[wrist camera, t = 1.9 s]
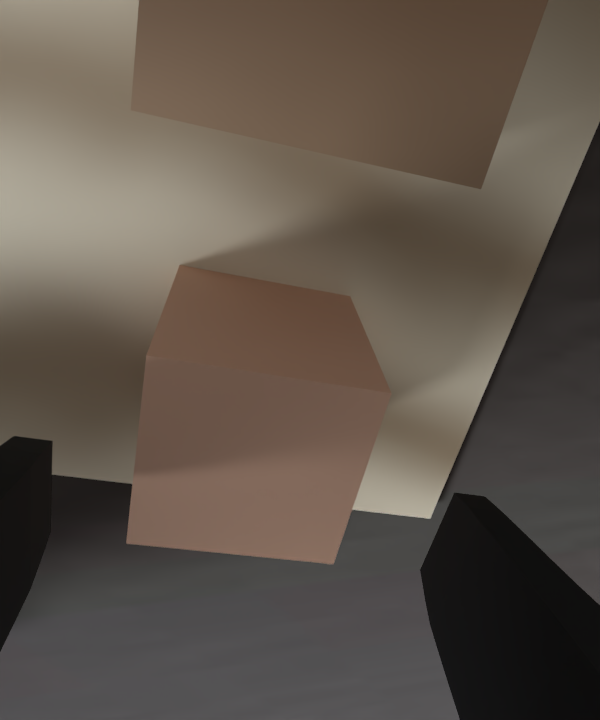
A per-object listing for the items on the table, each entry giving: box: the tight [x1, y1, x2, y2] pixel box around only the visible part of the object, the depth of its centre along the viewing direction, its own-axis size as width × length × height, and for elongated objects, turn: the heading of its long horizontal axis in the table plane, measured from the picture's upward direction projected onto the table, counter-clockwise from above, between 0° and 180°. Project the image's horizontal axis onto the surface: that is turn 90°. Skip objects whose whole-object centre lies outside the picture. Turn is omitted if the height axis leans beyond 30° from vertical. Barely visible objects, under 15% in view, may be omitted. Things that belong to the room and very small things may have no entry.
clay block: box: [126, 265, 392, 564], centre depth 13 cm, size 4×4×5 cm
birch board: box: [0, 0, 600, 519], centre depth 13 cm, size 20×14×1 cm
